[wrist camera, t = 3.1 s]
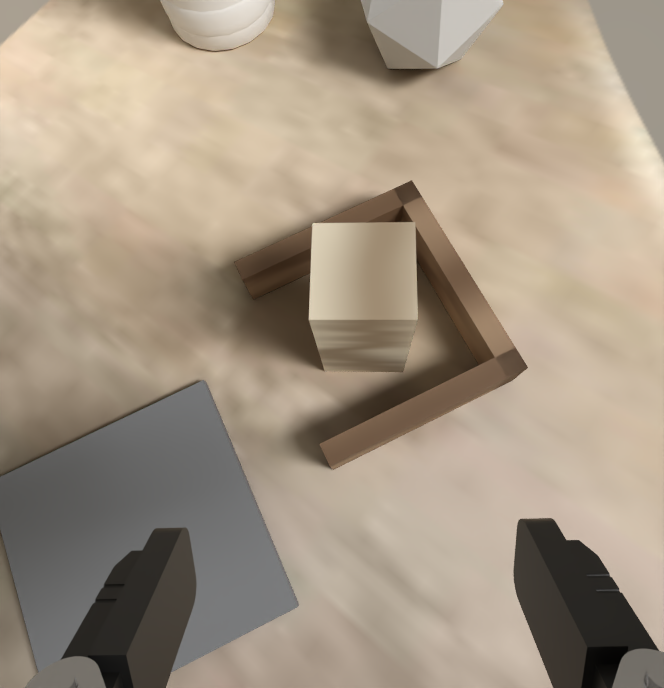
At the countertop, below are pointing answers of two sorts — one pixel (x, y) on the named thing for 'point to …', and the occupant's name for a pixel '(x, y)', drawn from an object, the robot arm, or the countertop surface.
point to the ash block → (363, 294)
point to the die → (427, 29)
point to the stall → (452, 289)
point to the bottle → (218, 21)
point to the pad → (141, 525)
